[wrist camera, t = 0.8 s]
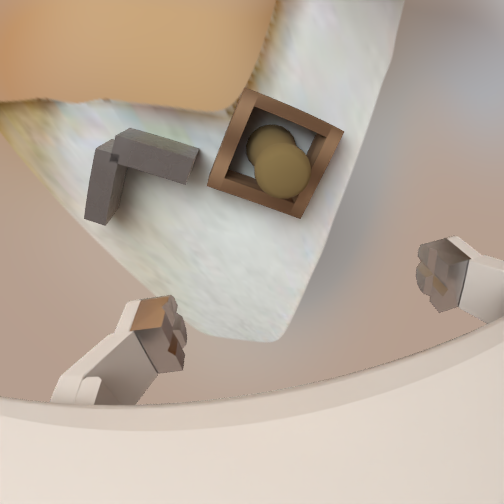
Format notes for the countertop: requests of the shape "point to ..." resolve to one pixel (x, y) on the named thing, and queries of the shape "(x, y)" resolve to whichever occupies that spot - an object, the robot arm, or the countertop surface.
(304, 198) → the sleeve
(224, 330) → the countertop surface
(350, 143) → the countertop surface
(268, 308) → the countertop surface
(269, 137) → the cork
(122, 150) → the v block
